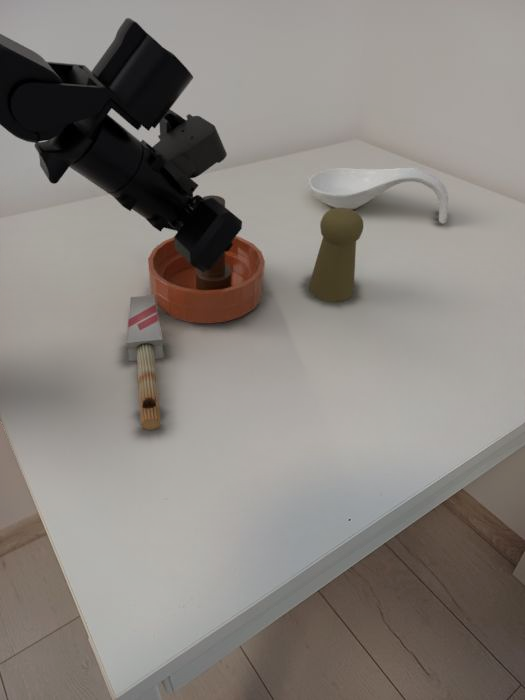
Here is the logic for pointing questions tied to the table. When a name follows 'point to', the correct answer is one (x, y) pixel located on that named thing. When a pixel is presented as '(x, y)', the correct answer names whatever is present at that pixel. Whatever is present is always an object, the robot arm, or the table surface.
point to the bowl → (206, 305)
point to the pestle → (215, 268)
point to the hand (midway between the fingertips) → (223, 241)
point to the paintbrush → (145, 355)
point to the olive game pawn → (336, 255)
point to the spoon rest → (370, 186)
